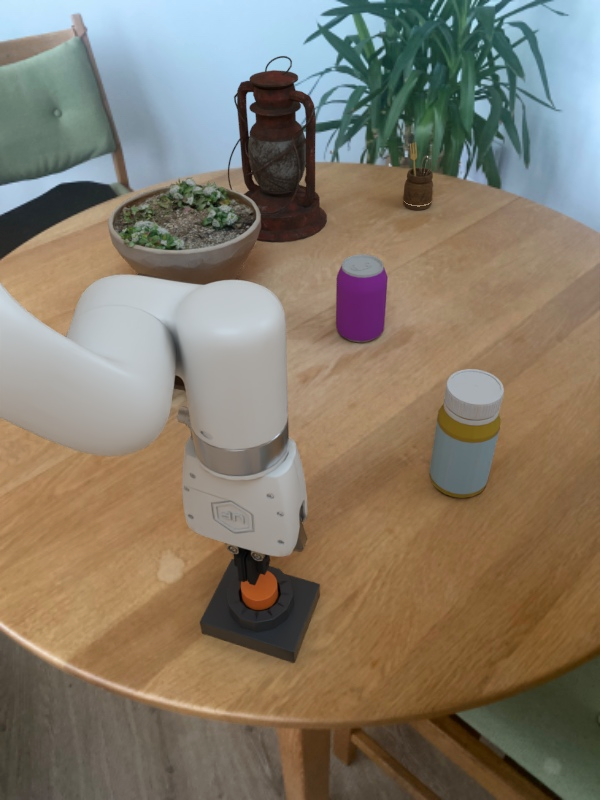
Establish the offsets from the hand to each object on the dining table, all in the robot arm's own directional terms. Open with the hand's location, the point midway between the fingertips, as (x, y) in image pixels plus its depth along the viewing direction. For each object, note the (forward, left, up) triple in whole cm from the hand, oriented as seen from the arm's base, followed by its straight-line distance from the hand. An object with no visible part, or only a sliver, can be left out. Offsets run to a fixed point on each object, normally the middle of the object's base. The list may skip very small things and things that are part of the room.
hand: (253, 570), depth 65 cm
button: (0, 0, -4) cm, 4 cm away
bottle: (+16, +25, -8) cm, 31 cm away
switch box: (0, 0, -8) cm, 8 cm away
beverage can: (-4, +52, -8) cm, 53 cm away
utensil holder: (-5, +100, -8) cm, 101 cm away
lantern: (-30, +85, -8) cm, 90 cm away
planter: (-36, +57, -8) cm, 68 cm away
